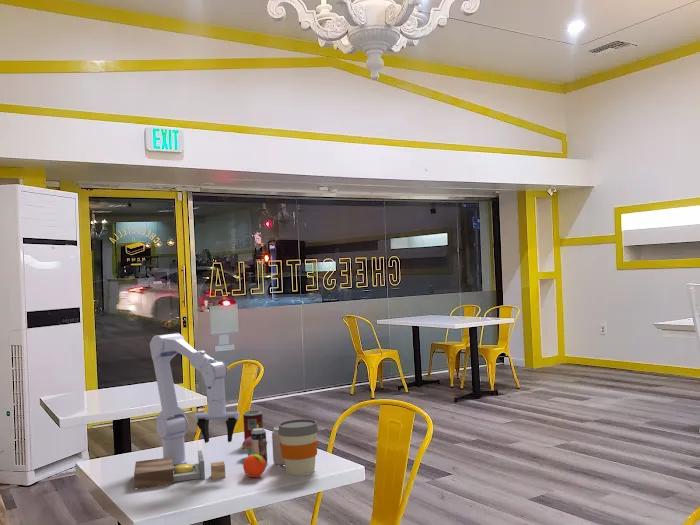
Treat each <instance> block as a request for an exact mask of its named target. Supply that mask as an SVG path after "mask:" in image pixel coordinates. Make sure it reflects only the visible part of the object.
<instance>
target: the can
mask: <svg viewBox="0 0 700 525" xmlns="http://www.w3.org/2000/svg"><path fill="white" fill-rule="evenodd" d="M278 432H279V425H278V426H275V427H273V431H272V432H271V442H272V460H273V463H274V464H275V466H278V465H280V466H279V467H284V466H283V465H285V463H284V458H283V457H282V453H281V448H280V442H281V440H280V435H279V434H278ZM281 465H282V466H281Z"/></svg>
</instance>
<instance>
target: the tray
mask: <svg viewBox="0 0 700 525" xmlns="http://www.w3.org/2000/svg"><path fill="white" fill-rule="evenodd" d="M197 459H198V460H197V461H198V463H191V464H192V465H193V472H190V473H182V474H174V467H175V466H176V465H173V479H174V483H175V482H176V483H177V482H181V481H182V482H183V481H189V480H198V479H200V480H203V479H204V480H205V478H206V475H205V474H206V473H205V459H204V455H203V451H202V450H197Z"/></svg>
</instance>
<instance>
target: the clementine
mask: <svg viewBox="0 0 700 525" xmlns="http://www.w3.org/2000/svg"><path fill="white" fill-rule="evenodd" d="M242 465H243V466H242V467H243V471H244V473H245V474H246V475H247V476H248V477H251V478H258V477H260V476H261V475H262V474H264V472H265V470H266V466H267V465H266V463H265V460H264V458H263V457H262V456H260V455H259V454H252V455H249V456H248V455H247V457H246V458H245V459H244V462H243V464H242Z"/></svg>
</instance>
